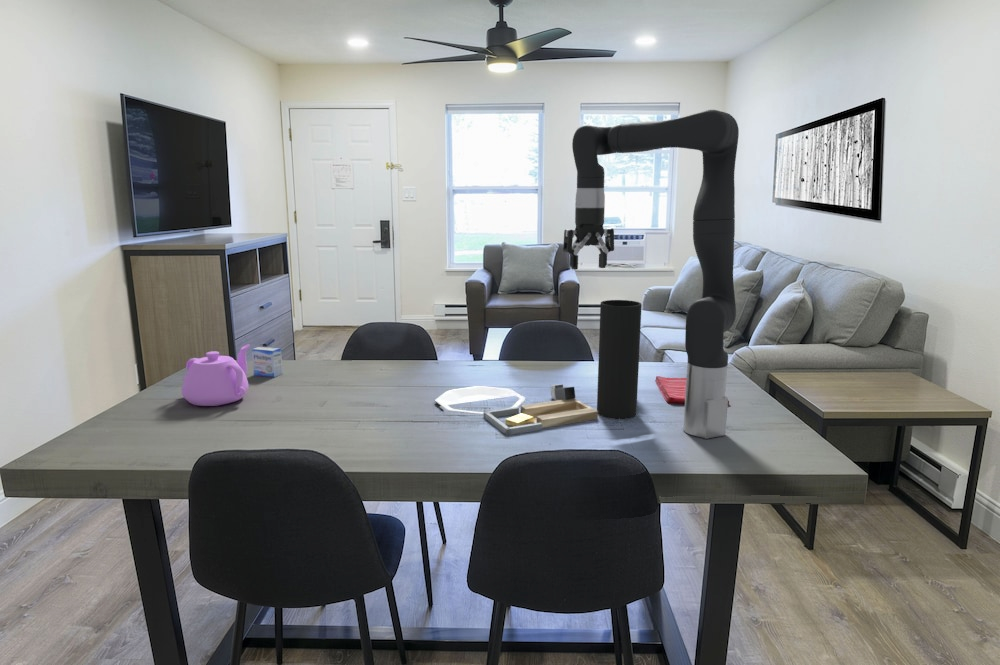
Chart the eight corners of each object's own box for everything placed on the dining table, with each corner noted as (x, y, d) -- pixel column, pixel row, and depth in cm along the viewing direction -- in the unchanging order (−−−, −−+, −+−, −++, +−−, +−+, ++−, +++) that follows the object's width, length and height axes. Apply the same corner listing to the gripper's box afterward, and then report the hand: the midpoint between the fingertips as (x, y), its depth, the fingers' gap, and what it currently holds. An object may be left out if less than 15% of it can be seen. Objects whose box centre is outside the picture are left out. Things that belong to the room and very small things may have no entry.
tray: (542, 433, 160) (542, 423, 159) (506, 439, 156) (506, 429, 156) (517, 415, 172) (517, 406, 172) (483, 420, 169) (483, 411, 168)
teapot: (280, 392, 192) (277, 346, 189) (221, 414, 173) (216, 363, 170) (225, 383, 201) (221, 339, 198) (162, 403, 182) (157, 354, 179)
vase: (622, 408, 179) (627, 299, 172) (643, 420, 169) (649, 305, 163) (589, 412, 175) (593, 301, 169) (609, 425, 166) (613, 307, 159)
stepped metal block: (560, 400, 185) (575, 400, 177) (551, 401, 184) (565, 402, 176) (558, 384, 185) (573, 384, 177) (549, 385, 184) (563, 385, 176)
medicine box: (253, 375, 210) (251, 349, 208) (262, 372, 214) (260, 346, 212) (274, 377, 207) (272, 350, 205) (283, 373, 211) (281, 347, 210)
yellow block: (533, 424, 165) (533, 416, 164) (525, 427, 163) (525, 419, 162) (521, 420, 168) (521, 413, 167) (513, 423, 165) (513, 415, 165)
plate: (425, 398, 188) (425, 393, 188) (499, 387, 199) (499, 382, 198) (458, 423, 168) (458, 418, 167) (538, 410, 178) (538, 404, 178)
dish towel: (667, 406, 182) (668, 397, 181) (653, 382, 205) (654, 374, 204) (730, 407, 181) (731, 398, 180) (709, 383, 204) (710, 375, 203)
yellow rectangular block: (525, 427, 163) (525, 419, 162) (517, 430, 160) (517, 422, 160) (513, 423, 165) (513, 416, 165) (505, 426, 163) (505, 419, 163)
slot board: (597, 422, 167) (598, 411, 167) (542, 431, 161) (542, 419, 160) (573, 408, 178) (573, 397, 178) (520, 416, 172) (520, 405, 171)
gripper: (573, 206, 165) (572, 271, 168) (621, 206, 170) (619, 268, 174) (558, 206, 171) (557, 268, 175) (605, 205, 177) (603, 266, 180)
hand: (588, 268), depth 174 cm, fingers open, 8 cm apart
